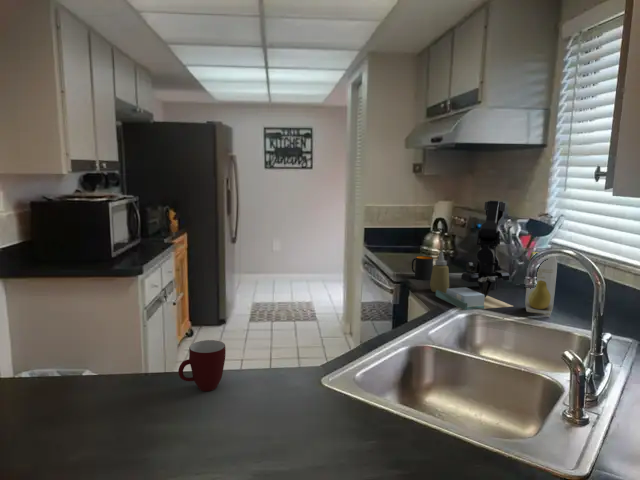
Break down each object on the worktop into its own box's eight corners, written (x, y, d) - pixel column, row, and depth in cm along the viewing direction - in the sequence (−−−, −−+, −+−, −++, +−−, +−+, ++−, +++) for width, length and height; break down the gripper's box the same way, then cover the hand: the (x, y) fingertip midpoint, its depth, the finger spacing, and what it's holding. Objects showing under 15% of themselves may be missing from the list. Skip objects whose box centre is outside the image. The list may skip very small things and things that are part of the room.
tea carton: (465, 296, 190) (466, 287, 189) (484, 305, 179) (484, 294, 178) (446, 298, 187) (446, 288, 187) (463, 306, 176) (464, 296, 175)
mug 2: (417, 274, 237) (418, 254, 235) (435, 279, 227) (436, 258, 226) (405, 276, 232) (406, 255, 230) (423, 281, 222) (425, 259, 221)
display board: (481, 295, 197) (481, 287, 196) (513, 309, 178) (514, 300, 178) (435, 298, 190) (436, 290, 190) (464, 313, 171) (465, 303, 171)
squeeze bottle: (451, 296, 195) (453, 254, 192) (431, 296, 195) (434, 253, 192) (446, 291, 203) (448, 250, 200) (427, 291, 203) (429, 250, 200)
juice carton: (524, 315, 171) (530, 250, 168) (523, 309, 178) (529, 247, 175) (552, 318, 168) (559, 253, 164) (550, 312, 175) (557, 249, 171)
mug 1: (187, 402, 101) (186, 358, 99) (174, 388, 107) (173, 346, 106) (231, 389, 107) (231, 348, 105) (216, 377, 113) (216, 337, 112)
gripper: (494, 254, 193) (491, 290, 196) (454, 255, 188) (452, 293, 191) (512, 259, 183) (508, 298, 185) (471, 261, 178) (468, 300, 180)
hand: (484, 297), depth 186 cm, fingers closed
